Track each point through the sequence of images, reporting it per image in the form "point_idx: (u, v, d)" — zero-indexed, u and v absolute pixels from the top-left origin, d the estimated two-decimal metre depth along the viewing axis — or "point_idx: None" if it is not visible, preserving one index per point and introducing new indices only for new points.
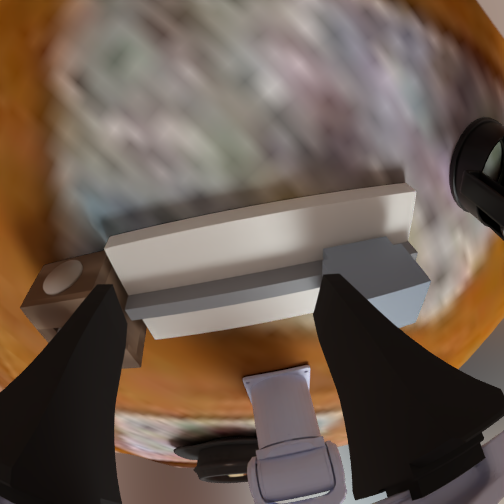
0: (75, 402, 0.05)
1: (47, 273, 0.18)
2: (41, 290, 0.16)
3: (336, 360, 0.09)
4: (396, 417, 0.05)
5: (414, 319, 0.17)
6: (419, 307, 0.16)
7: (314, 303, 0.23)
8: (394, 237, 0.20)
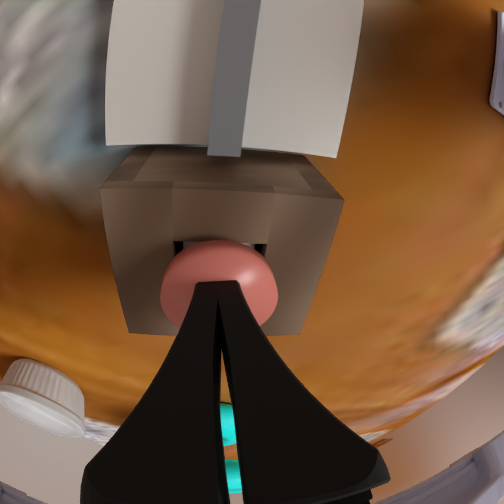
0: (216, 410, 0.06)
1: None
2: None
3: (227, 372, 0.08)
4: (238, 450, 0.05)
5: None
6: None
7: None
8: None
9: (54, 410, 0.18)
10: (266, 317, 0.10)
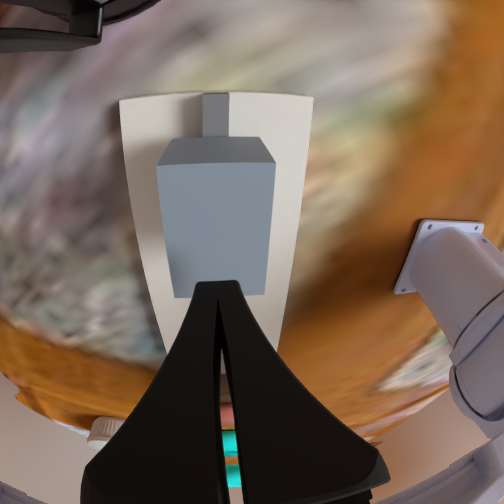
0: (216, 410, 0.06)
1: None
2: None
3: (227, 372, 0.08)
4: (238, 450, 0.05)
5: (264, 168, 0.09)
6: (226, 168, 0.09)
7: (280, 228, 0.18)
8: (190, 120, 0.13)
9: None
10: None
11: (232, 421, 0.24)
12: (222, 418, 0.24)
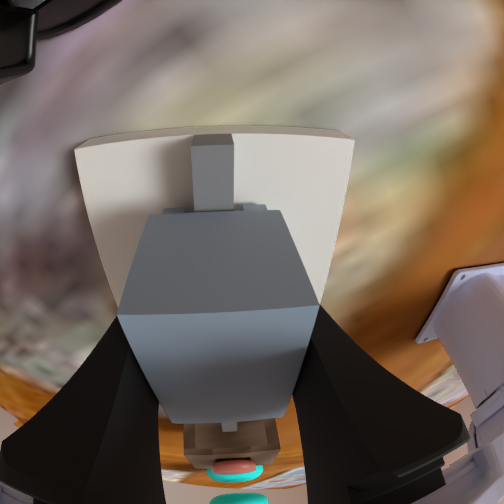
0: (130, 409, 0.05)
1: None
2: None
3: None
4: (335, 435, 0.05)
5: (298, 314, 0.06)
6: (236, 318, 0.05)
7: None
8: (176, 177, 0.09)
9: None
10: None
11: (239, 472, 0.21)
12: (229, 471, 0.20)
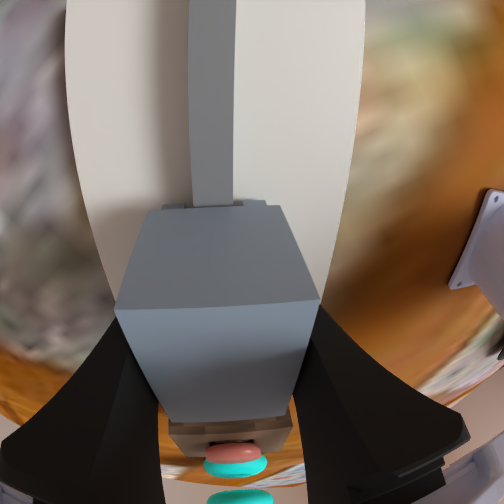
0: (130, 408, 0.05)
1: None
2: None
3: None
4: (335, 435, 0.05)
5: (299, 308, 0.05)
6: (235, 312, 0.05)
7: (320, 182, 0.10)
8: None
9: None
10: (257, 458, 0.17)
11: (240, 460, 0.17)
12: (227, 458, 0.16)
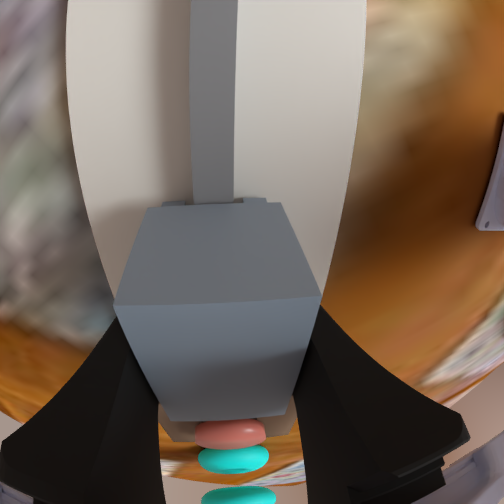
0: (130, 408, 0.05)
1: None
2: None
3: None
4: (335, 435, 0.05)
5: (300, 305, 0.05)
6: (236, 309, 0.05)
7: (335, 44, 0.07)
8: None
9: None
10: (260, 442, 0.14)
11: (239, 444, 0.14)
12: (222, 440, 0.13)
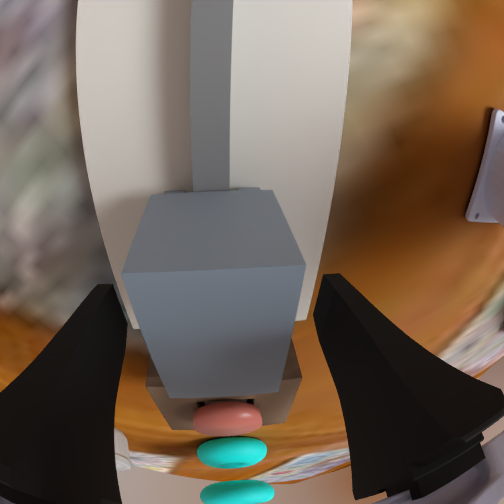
0: (75, 402, 0.05)
1: None
2: None
3: (336, 360, 0.09)
4: (396, 417, 0.05)
5: (287, 273, 0.06)
6: (229, 275, 0.06)
7: (322, 44, 0.08)
8: None
9: None
10: (257, 428, 0.15)
11: (236, 430, 0.15)
12: (219, 425, 0.14)
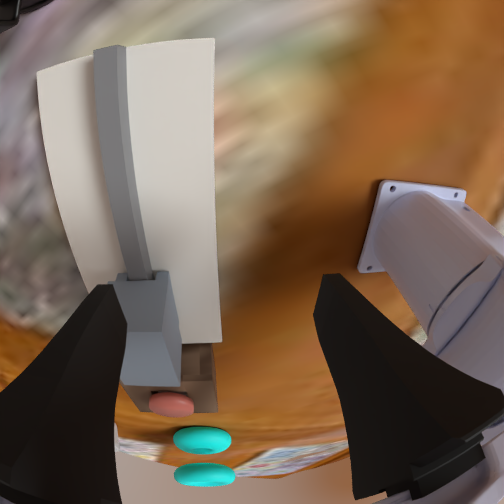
0: (75, 402, 0.05)
1: None
2: None
3: (336, 360, 0.09)
4: (396, 417, 0.05)
5: (154, 334, 0.14)
6: (132, 334, 0.13)
7: (194, 185, 0.15)
8: (93, 79, 0.11)
9: None
10: (191, 412, 0.22)
11: (177, 412, 0.22)
12: (165, 408, 0.21)
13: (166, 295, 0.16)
